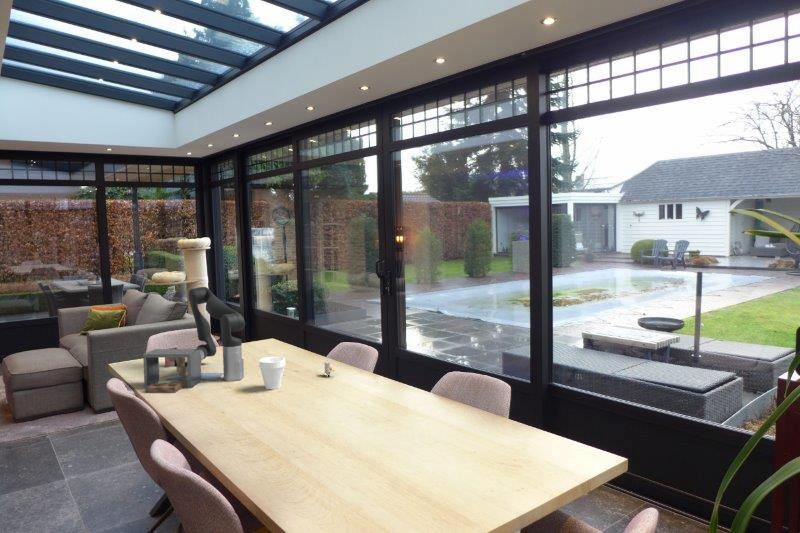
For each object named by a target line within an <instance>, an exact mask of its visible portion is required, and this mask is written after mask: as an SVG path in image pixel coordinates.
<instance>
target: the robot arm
mask: <svg viewBox="0 0 800 533" xmlns="http://www.w3.org/2000/svg"><path fill="white" fill-rule="evenodd" d="M188 300H189V304H190V308H191V311H192V315H193V320H194V322H195V325H196V333H197V339H198V341H200V342H205V343H204V344H199V345H198V346H196V348H195V349H200V357H201V362H203V360H205V359H206V358H207V357H214V356H215V355H216V353H217V346H216V344H215V342H214V340H213V337H212V332H211V326H210V324H209V323H210V322H208V320H207V319H206V317H204V315H203V314H202V313H201V311H200V309H199V307H198V305H203V304H205V311H206V312H207V314H209V315H210V316H211V317H212V318H214V319H216V320H220V321H219V322H220V324H219V325H220V332H221V334H220V335H221V342H222V363H223V364H222V366H223V367H222V368H223V373H224V375H223V380H224V381H225V382H227V381H228V382H233V381H241V380H242V379H244V378H245V367H244V366H245V365H244V358H243V346H242V344H243V342H242V339H241V338H239V337H234V336H232V333H236V332H240V331H242V330H243V329H244V328H245V326H246V321H245V318H244V317H243V314H241V313H240V312H238V311H236V310H234V309H232V308H231V307H230V306H228V305H227V304H226V303H225V302H223V301H222V300H221V299H219V298H218V297H217V296H216V295H215V294H213V292H212V291H211V290H210V289H209V288H208V287H207V286H200V287H194V288H191V289H189V290H188ZM174 361H175V366H174V367H175V368H177V362H176V359H175V360H174ZM185 367H187V362H185Z"/></svg>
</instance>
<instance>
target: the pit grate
mask: <svg viewBox="0 0 800 533" xmlns="http://www.w3.org/2000/svg"><path fill="white" fill-rule="evenodd" d="M182 385H183V384H182V383H179V382H178V383H176V382H175V383H173V382H171V383H161V382H160V383H159V382H158V383H153V384H151V385H149V386H147V387H146V388H145V394H146V393H150V394H152V393H155V394H157V393H164V394H166V393H168V394H169V393H171V394H172V393H173V394H174V393H177V392H178V390H179V391H180V390H181V388H183V387H182Z"/></svg>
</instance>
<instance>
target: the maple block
mask: <svg viewBox="0 0 800 533" xmlns="http://www.w3.org/2000/svg"><path fill="white" fill-rule="evenodd" d="M176 362H177V367H176V373H177V376H187V375H188V369H187V367H185V362H187V357H176Z"/></svg>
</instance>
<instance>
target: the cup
mask: <svg viewBox="0 0 800 533" xmlns="http://www.w3.org/2000/svg"><path fill="white" fill-rule="evenodd" d="M258 362H259V365H258V367H259V369H260V372H261V376H262V380H263V384H264V387H265V390H268V389H274V390H278V389H277V388H279V389H281V385H282V380H283V376H284V370H285V367H286V358H285V357H283V356H269V357H267V356H266V357H263V358H260V359H259V360H258Z"/></svg>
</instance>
